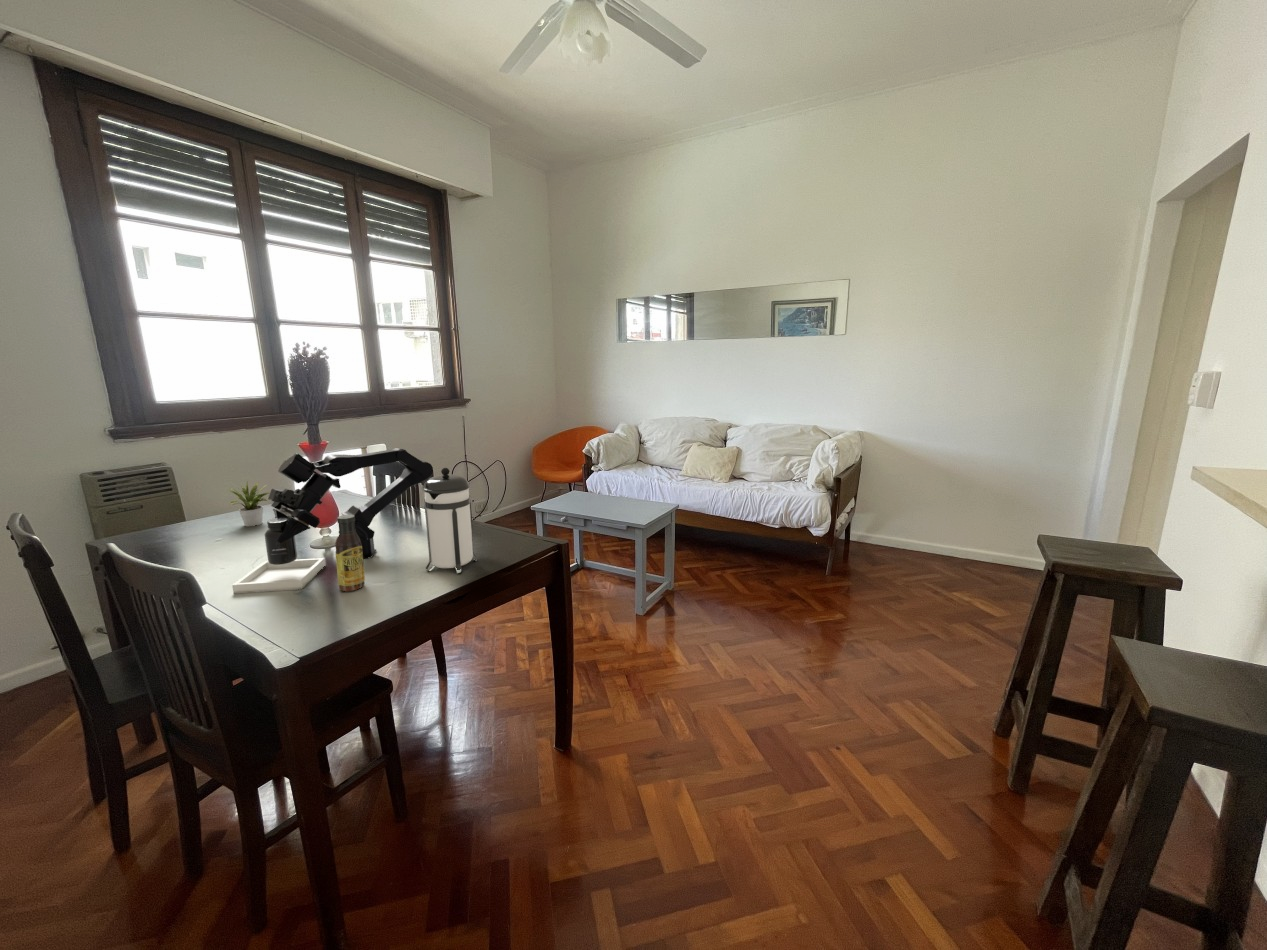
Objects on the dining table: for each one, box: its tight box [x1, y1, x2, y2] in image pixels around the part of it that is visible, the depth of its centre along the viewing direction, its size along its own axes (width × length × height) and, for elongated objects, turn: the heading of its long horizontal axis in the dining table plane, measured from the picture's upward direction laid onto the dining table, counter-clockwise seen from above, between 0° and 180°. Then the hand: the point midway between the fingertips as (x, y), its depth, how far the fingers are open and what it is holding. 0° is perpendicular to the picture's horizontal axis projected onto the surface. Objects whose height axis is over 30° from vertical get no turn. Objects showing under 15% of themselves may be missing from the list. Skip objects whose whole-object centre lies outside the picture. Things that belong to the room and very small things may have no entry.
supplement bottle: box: [264, 517, 298, 565], centre depth 139 cm, size 7×7×12 cm
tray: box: [231, 557, 327, 595], centre depth 139 cm, size 16×16×2 cm
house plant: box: [227, 480, 272, 527], centre depth 182 cm, size 14×14×16 cm
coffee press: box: [421, 467, 477, 570], centre depth 147 cm, size 17×16×30 cm
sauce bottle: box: [334, 514, 366, 592], centre depth 132 cm, size 6×6×20 cm
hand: (274, 539), depth 138 cm, fingers closed on supplement bottle, 7 cm apart
